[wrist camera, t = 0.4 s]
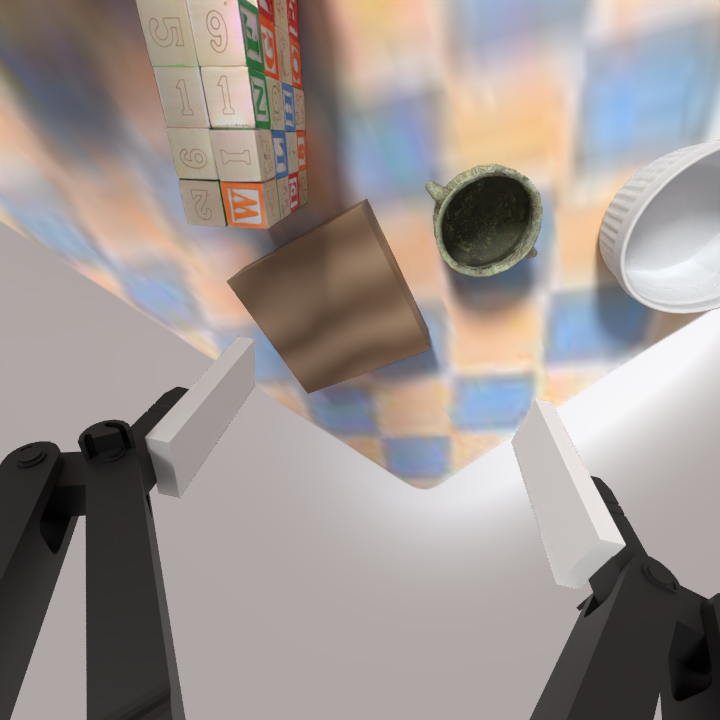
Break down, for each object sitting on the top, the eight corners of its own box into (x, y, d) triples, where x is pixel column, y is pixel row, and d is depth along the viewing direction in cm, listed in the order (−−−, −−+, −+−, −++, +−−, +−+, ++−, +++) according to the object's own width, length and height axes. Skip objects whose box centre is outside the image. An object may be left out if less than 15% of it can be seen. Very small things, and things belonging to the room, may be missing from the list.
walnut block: (245, 266, 40) (226, 281, 36) (367, 198, 35) (361, 206, 31) (317, 370, 47) (307, 393, 43) (428, 328, 42) (429, 349, 38)
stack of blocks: (206, -130, 24) (56, -322, 14) (293, -134, 24) (202, -338, 14) (250, 200, 36) (185, 226, 26) (309, 203, 36) (267, 231, 25)
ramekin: (687, 95, 27) (761, 84, 22) (792, 191, 30) (883, 204, 24) (554, 240, 34) (583, 262, 29) (648, 309, 37) (692, 341, 31)
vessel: (400, 222, 35) (397, 237, 30) (452, 130, 31) (461, 129, 25) (495, 280, 37) (509, 304, 32) (559, 202, 33) (587, 215, 27)
